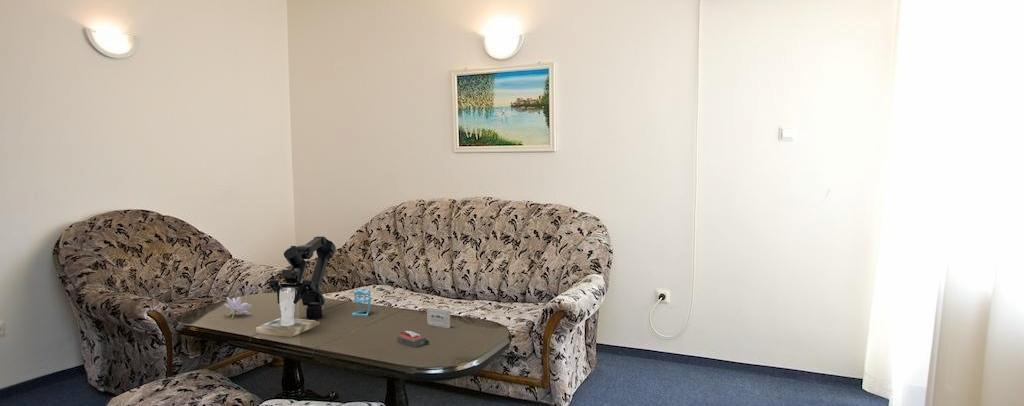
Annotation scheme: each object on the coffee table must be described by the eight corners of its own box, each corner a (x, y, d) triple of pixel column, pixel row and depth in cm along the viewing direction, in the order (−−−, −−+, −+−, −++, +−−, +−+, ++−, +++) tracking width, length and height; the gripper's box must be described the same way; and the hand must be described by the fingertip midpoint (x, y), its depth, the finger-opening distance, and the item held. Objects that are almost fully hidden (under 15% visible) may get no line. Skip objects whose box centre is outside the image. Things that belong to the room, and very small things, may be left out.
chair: (374, 311, 282) (373, 287, 281) (367, 316, 274) (366, 291, 273) (359, 311, 283) (358, 286, 282) (351, 315, 275) (350, 290, 274)
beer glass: (286, 328, 244) (287, 293, 242) (275, 324, 247) (275, 289, 245) (300, 323, 250) (300, 289, 248) (288, 319, 253) (289, 286, 251)
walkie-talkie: (433, 344, 235) (402, 333, 248) (433, 333, 234) (402, 323, 248) (415, 349, 228) (385, 338, 242) (415, 338, 228) (385, 328, 241)
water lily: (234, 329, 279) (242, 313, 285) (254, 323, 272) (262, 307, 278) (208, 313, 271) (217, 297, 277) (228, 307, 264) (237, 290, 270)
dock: (286, 321, 268) (285, 313, 267) (319, 324, 262) (319, 316, 262) (256, 333, 250) (255, 324, 250) (291, 337, 244) (290, 328, 244)
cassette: (451, 327, 255) (450, 310, 255) (448, 328, 254) (448, 311, 253) (429, 323, 261) (428, 306, 261) (426, 324, 260) (426, 307, 259)
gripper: (269, 261, 250) (257, 293, 240) (311, 261, 248) (301, 293, 239) (279, 275, 259) (268, 306, 249) (320, 275, 257) (310, 307, 247)
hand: (286, 303), depth 246 cm, fingers closed on beer glass, 7 cm apart
